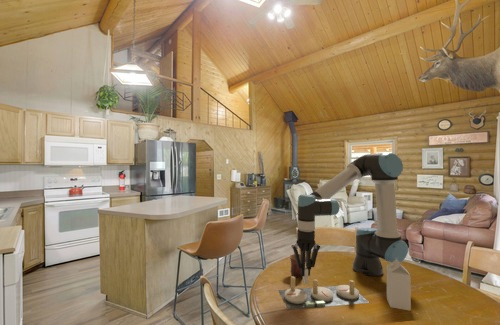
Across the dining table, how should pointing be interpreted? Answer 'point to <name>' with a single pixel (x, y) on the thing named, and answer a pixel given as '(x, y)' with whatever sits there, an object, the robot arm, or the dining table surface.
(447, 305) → the dining table surface
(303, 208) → the robot arm
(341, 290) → the knob
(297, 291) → the knob
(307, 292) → the base plate
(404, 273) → the milk carton
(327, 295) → the knob middle
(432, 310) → the dining table surface
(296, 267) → the mug
